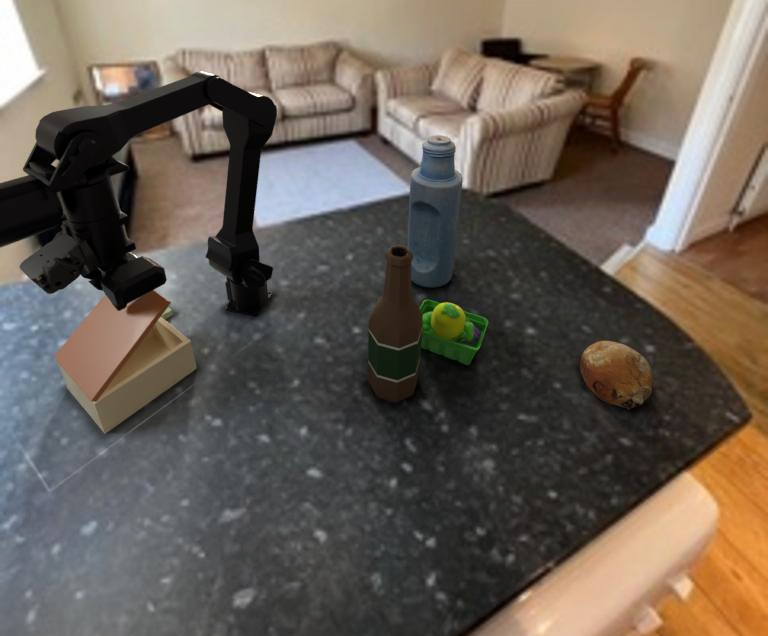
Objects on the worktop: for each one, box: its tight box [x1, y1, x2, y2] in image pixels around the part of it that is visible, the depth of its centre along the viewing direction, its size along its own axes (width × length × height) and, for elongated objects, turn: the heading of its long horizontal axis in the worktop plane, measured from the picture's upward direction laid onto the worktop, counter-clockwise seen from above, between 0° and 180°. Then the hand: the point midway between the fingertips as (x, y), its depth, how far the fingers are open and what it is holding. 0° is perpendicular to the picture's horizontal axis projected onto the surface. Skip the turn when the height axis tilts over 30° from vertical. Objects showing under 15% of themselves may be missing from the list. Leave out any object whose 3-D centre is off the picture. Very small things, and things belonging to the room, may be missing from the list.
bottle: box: [406, 134, 464, 289], centre depth 86 cm, size 10×10×30 cm
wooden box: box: [57, 317, 198, 435], centre depth 66 cm, size 14×12×6 cm
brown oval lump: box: [579, 340, 654, 410], centre depth 69 cm, size 10×10×8 cm
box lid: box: [53, 289, 172, 402], centre depth 63 cm, size 14×12×1 cm
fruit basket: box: [419, 299, 489, 366], centre depth 72 cm, size 11×9×11 cm
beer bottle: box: [367, 244, 423, 403], centre depth 63 cm, size 8×8×24 cm
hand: (121, 308), depth 63 cm, fingers closed
